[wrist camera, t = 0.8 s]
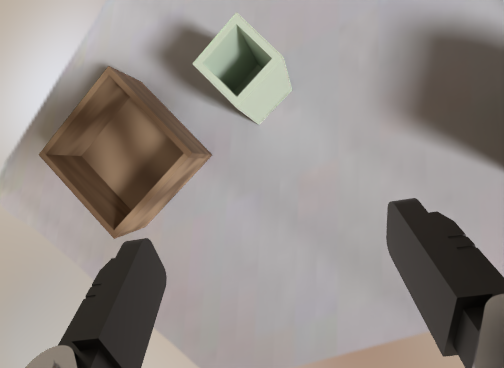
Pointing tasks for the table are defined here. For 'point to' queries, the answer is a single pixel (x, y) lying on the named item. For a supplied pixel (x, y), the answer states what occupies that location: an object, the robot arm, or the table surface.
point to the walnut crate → (123, 153)
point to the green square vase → (245, 69)
